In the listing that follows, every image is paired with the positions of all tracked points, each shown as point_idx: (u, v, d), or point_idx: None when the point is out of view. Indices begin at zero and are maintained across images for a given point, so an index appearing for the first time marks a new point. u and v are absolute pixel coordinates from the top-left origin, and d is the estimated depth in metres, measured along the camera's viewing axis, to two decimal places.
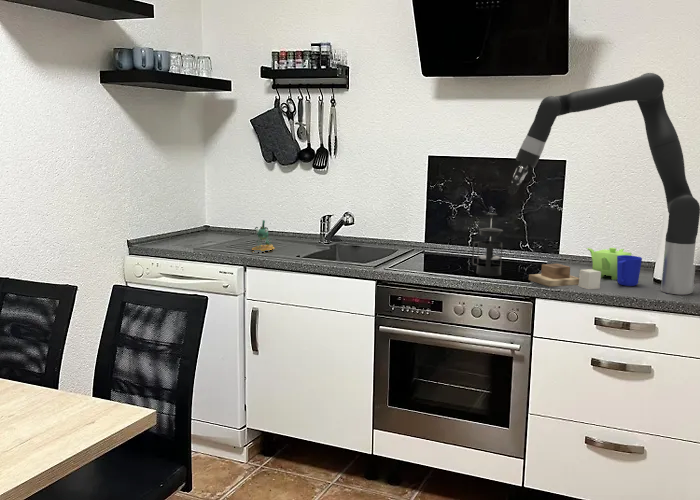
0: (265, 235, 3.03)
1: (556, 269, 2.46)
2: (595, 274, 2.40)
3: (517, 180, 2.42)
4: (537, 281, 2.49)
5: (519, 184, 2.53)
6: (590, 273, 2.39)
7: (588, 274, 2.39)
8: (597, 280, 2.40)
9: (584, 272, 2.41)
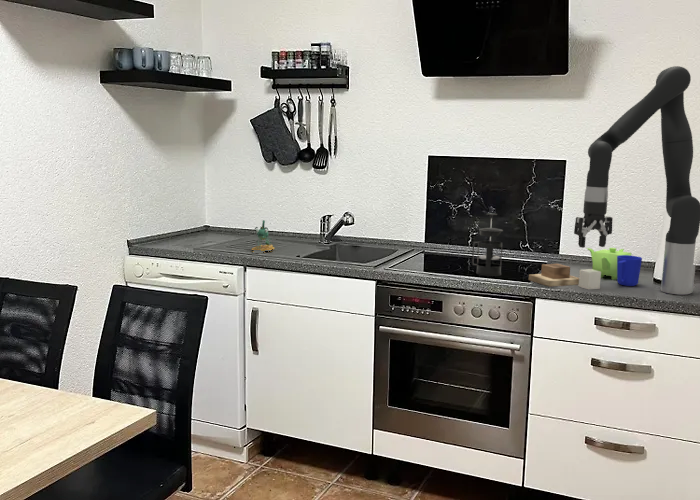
0: (265, 235, 3.03)
1: (556, 269, 2.46)
2: (595, 274, 2.40)
3: (578, 231, 2.37)
4: (537, 281, 2.49)
5: (603, 236, 2.40)
6: (590, 273, 2.39)
7: (588, 274, 2.39)
8: (597, 280, 2.40)
9: (584, 272, 2.41)
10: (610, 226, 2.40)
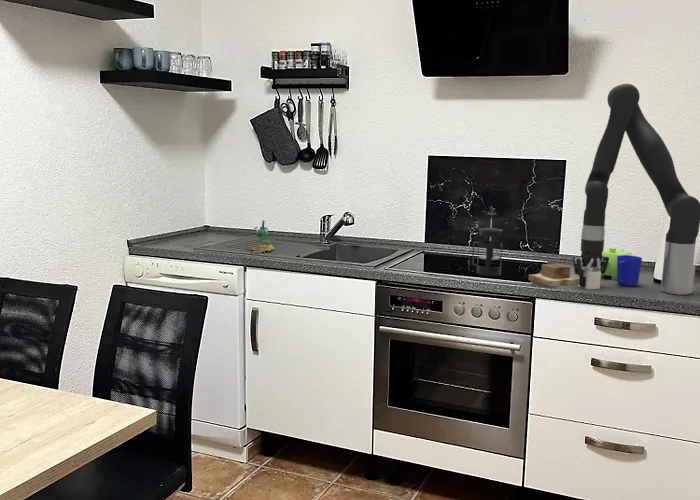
0: (265, 235, 3.02)
1: (556, 269, 2.46)
2: (595, 274, 2.40)
3: None
4: (537, 281, 2.49)
5: None
6: (590, 273, 2.39)
7: (588, 274, 2.39)
8: (597, 280, 2.40)
9: None
10: (605, 266, 2.42)
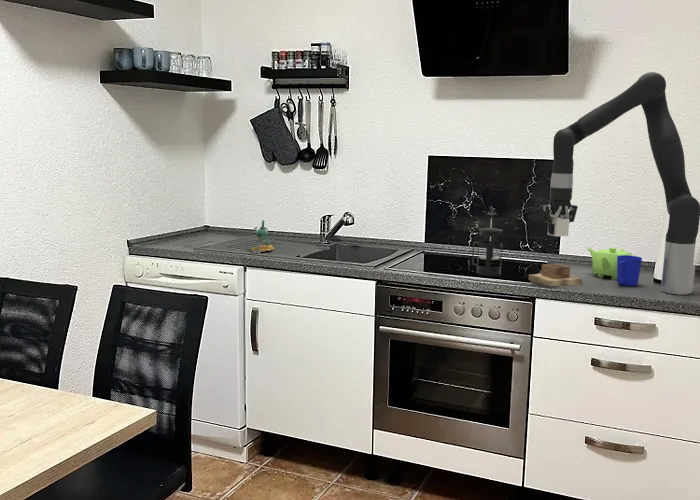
0: (265, 235, 3.02)
1: (556, 269, 2.46)
2: (563, 222, 2.45)
3: (547, 219, 2.44)
4: (537, 281, 2.49)
5: None
6: (558, 220, 2.44)
7: (557, 221, 2.44)
8: (565, 227, 2.45)
9: None
10: (574, 214, 2.47)
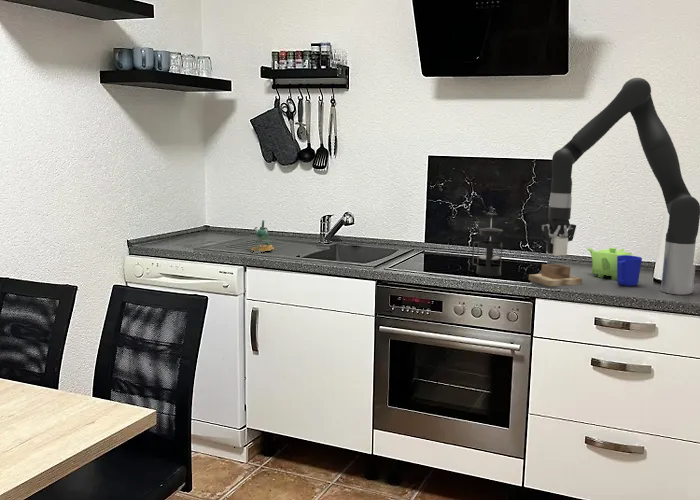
0: (264, 235, 3.02)
1: (556, 269, 2.46)
2: (562, 241, 2.46)
3: (546, 238, 2.46)
4: (537, 281, 2.49)
5: None
6: (557, 239, 2.45)
7: (555, 240, 2.45)
8: (564, 247, 2.47)
9: None
10: (572, 233, 2.49)
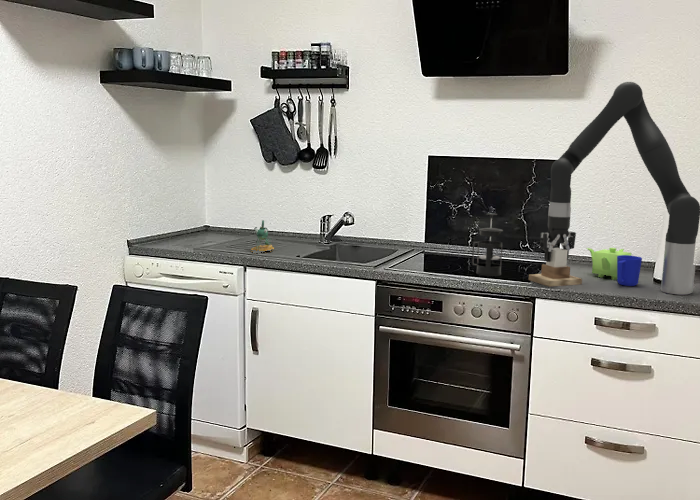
0: (264, 235, 3.02)
1: (556, 269, 2.46)
2: (561, 253, 2.47)
3: None
4: (537, 281, 2.49)
5: None
6: (557, 251, 2.46)
7: (555, 252, 2.46)
8: (564, 258, 2.47)
9: (551, 250, 2.48)
10: (573, 241, 2.49)
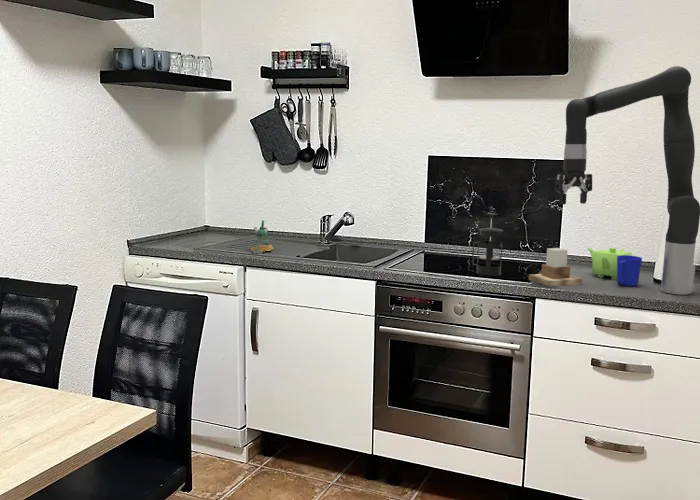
0: (264, 235, 3.02)
1: (556, 269, 2.46)
2: (561, 253, 2.47)
3: (558, 188, 2.42)
4: (537, 281, 2.49)
5: (584, 193, 2.46)
6: (557, 251, 2.46)
7: (555, 252, 2.46)
8: (564, 258, 2.47)
9: (551, 250, 2.48)
10: (590, 183, 2.46)
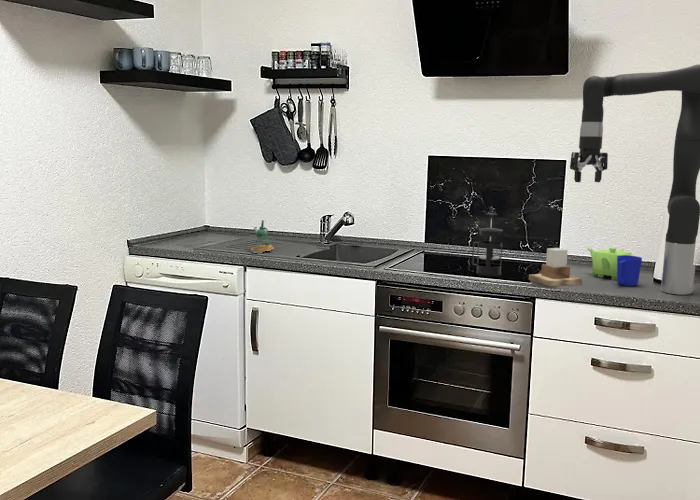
0: (264, 235, 3.02)
1: (556, 269, 2.46)
2: (561, 253, 2.47)
3: (573, 166, 2.40)
4: (537, 281, 2.49)
5: (599, 172, 2.44)
6: (557, 251, 2.46)
7: (555, 252, 2.46)
8: (564, 258, 2.47)
9: (551, 250, 2.48)
10: (605, 161, 2.44)
